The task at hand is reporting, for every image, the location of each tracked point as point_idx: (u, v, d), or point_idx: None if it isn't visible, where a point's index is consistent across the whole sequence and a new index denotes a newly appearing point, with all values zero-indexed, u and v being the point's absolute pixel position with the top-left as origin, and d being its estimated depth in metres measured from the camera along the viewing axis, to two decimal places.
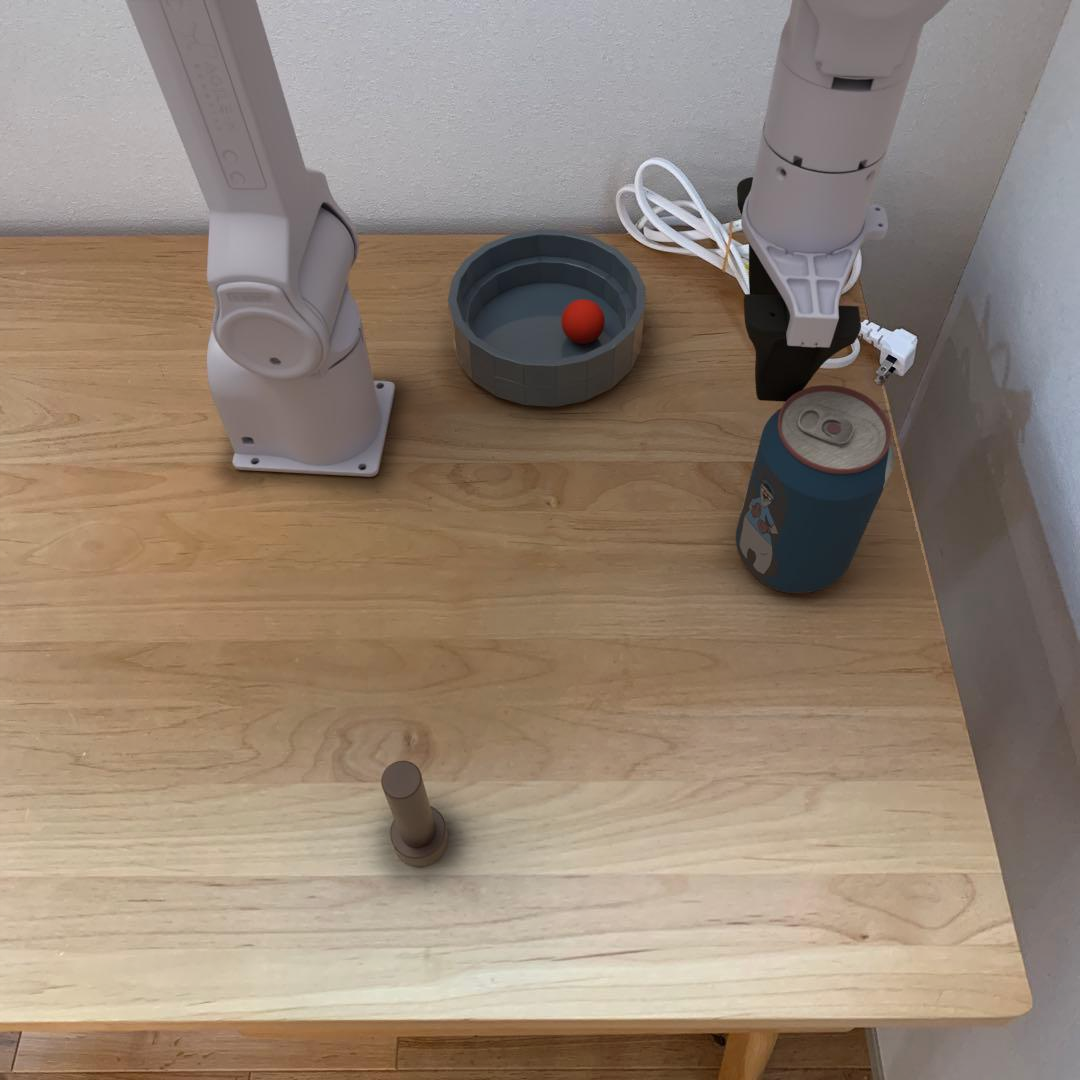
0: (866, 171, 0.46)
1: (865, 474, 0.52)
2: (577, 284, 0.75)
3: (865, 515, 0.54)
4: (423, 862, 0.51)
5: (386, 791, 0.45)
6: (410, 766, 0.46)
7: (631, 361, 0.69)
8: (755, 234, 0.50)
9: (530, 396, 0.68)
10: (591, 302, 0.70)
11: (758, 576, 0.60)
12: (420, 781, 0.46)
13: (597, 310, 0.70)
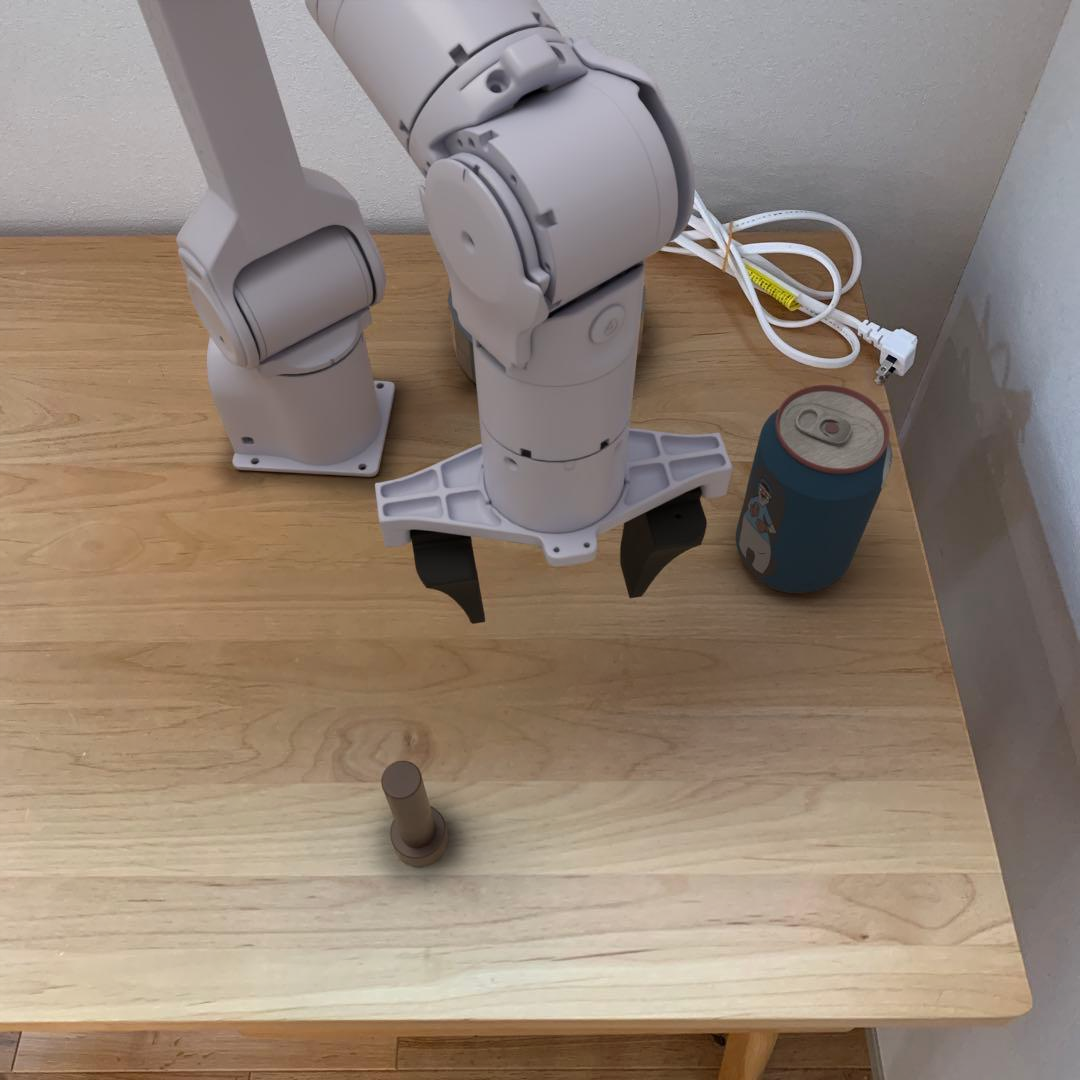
0: (501, 449, 0.37)
1: (862, 474, 0.52)
2: None
3: (863, 515, 0.54)
4: (423, 862, 0.51)
5: (386, 791, 0.45)
6: (410, 766, 0.46)
7: None
8: None
9: None
10: None
11: (757, 575, 0.60)
12: (420, 781, 0.46)
13: None
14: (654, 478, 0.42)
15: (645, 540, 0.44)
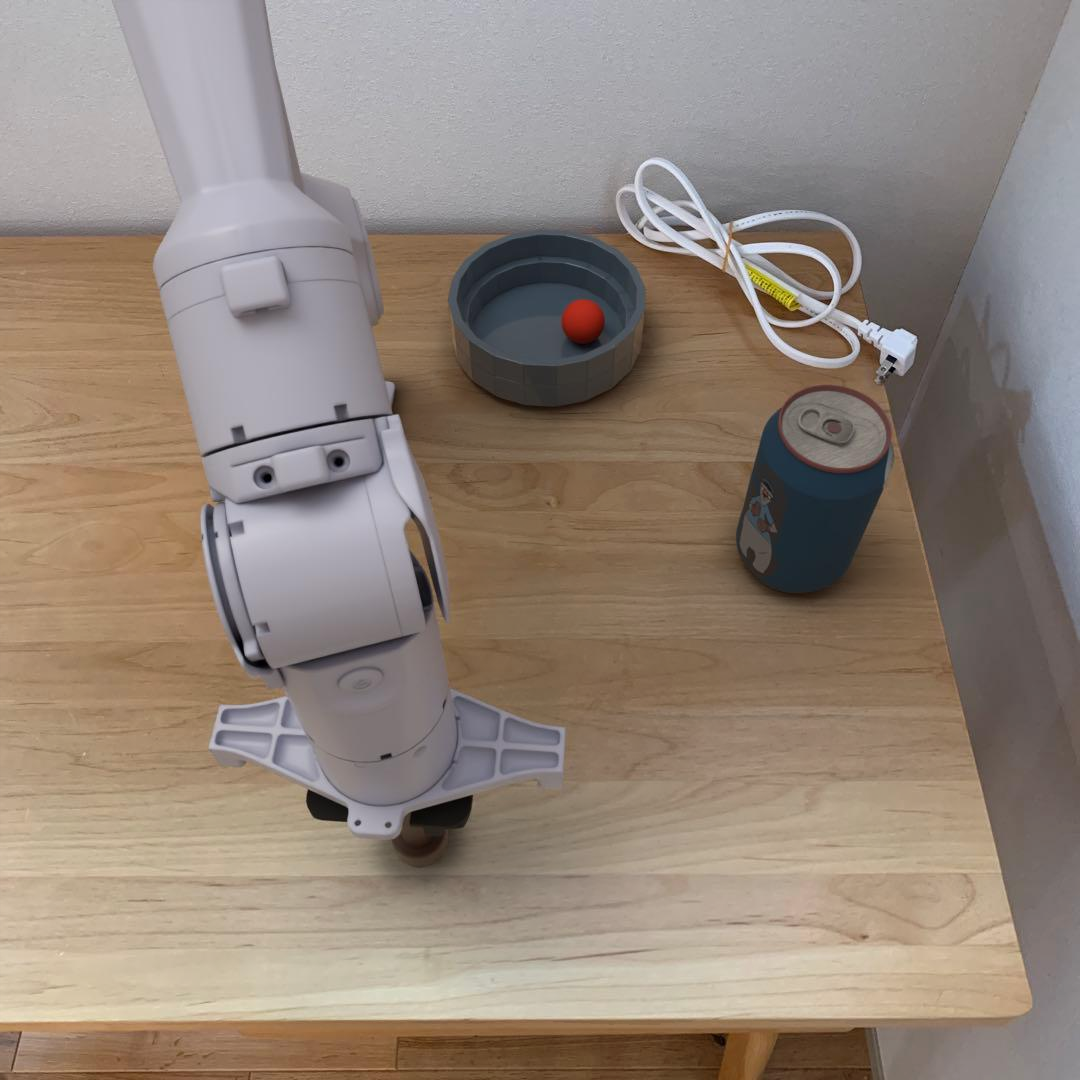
0: None
1: (864, 474, 0.52)
2: (577, 284, 0.75)
3: (864, 515, 0.54)
4: (423, 862, 0.51)
5: None
6: None
7: (631, 361, 0.69)
8: None
9: (530, 396, 0.68)
10: (591, 302, 0.70)
11: (757, 575, 0.60)
12: None
13: (597, 310, 0.70)
14: (485, 761, 0.42)
15: None
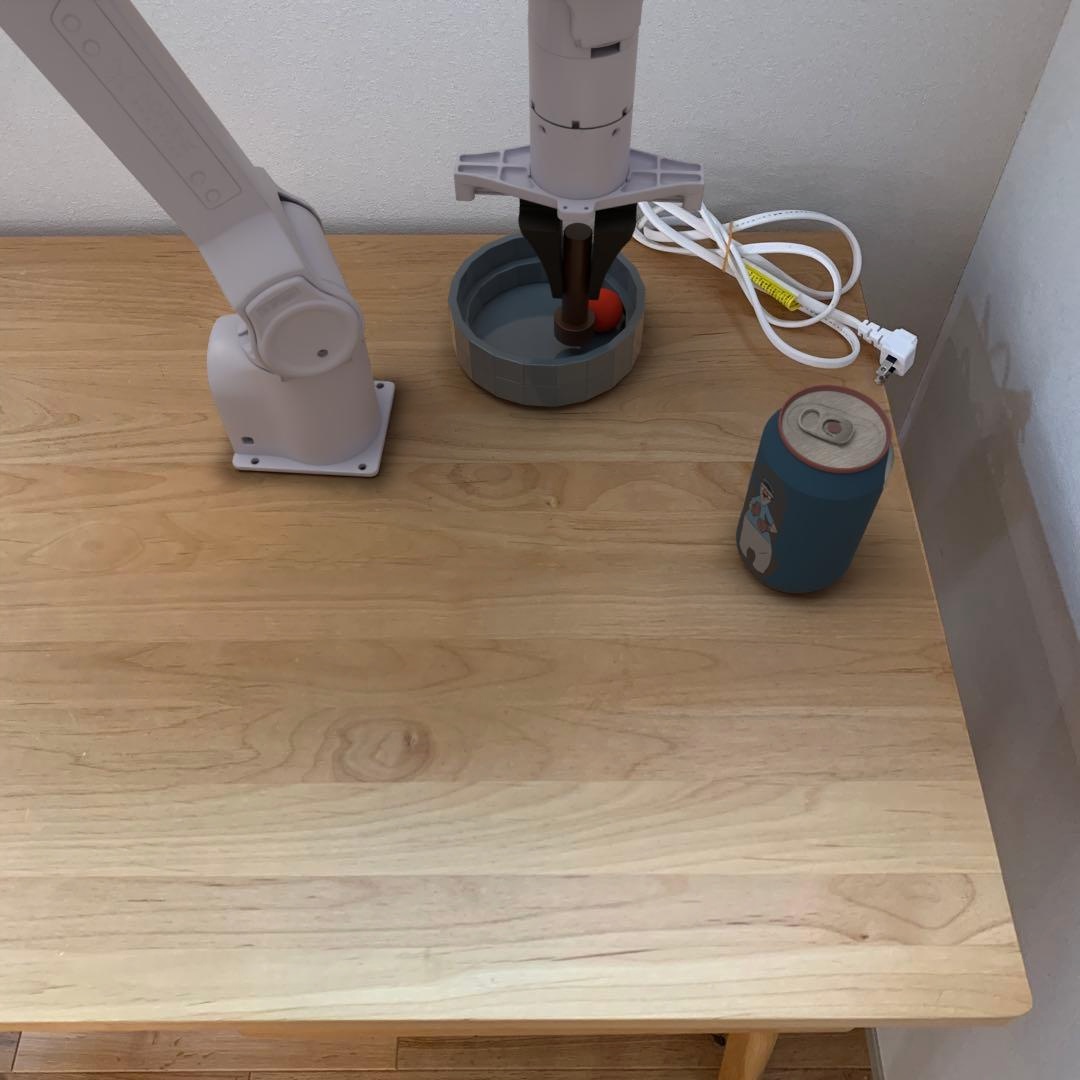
0: (537, 118, 0.55)
1: (864, 474, 0.52)
2: None
3: (864, 515, 0.54)
4: (578, 338, 0.69)
5: (568, 237, 0.63)
6: (584, 225, 0.64)
7: (631, 361, 0.69)
8: None
9: (530, 396, 0.68)
10: None
11: (757, 575, 0.60)
12: (592, 233, 0.63)
13: None
14: (648, 184, 0.59)
15: None
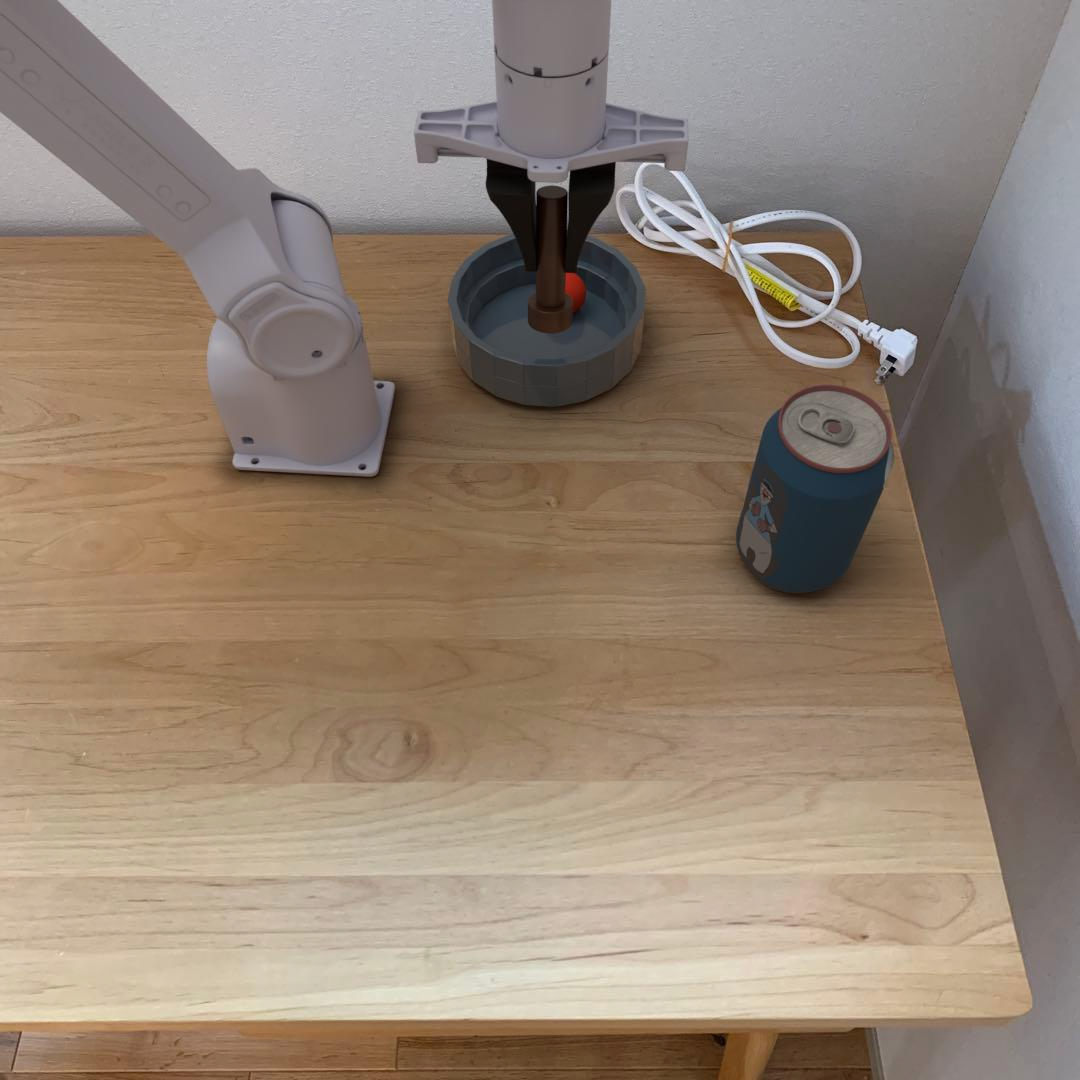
0: (503, 67, 0.50)
1: (864, 474, 0.52)
2: None
3: (864, 515, 0.54)
4: (541, 322, 0.63)
5: (537, 192, 0.58)
6: (563, 189, 0.59)
7: (631, 361, 0.69)
8: None
9: (530, 396, 0.68)
10: (572, 273, 0.72)
11: (757, 575, 0.60)
12: (563, 197, 0.58)
13: (566, 276, 0.71)
14: (627, 142, 0.54)
15: None
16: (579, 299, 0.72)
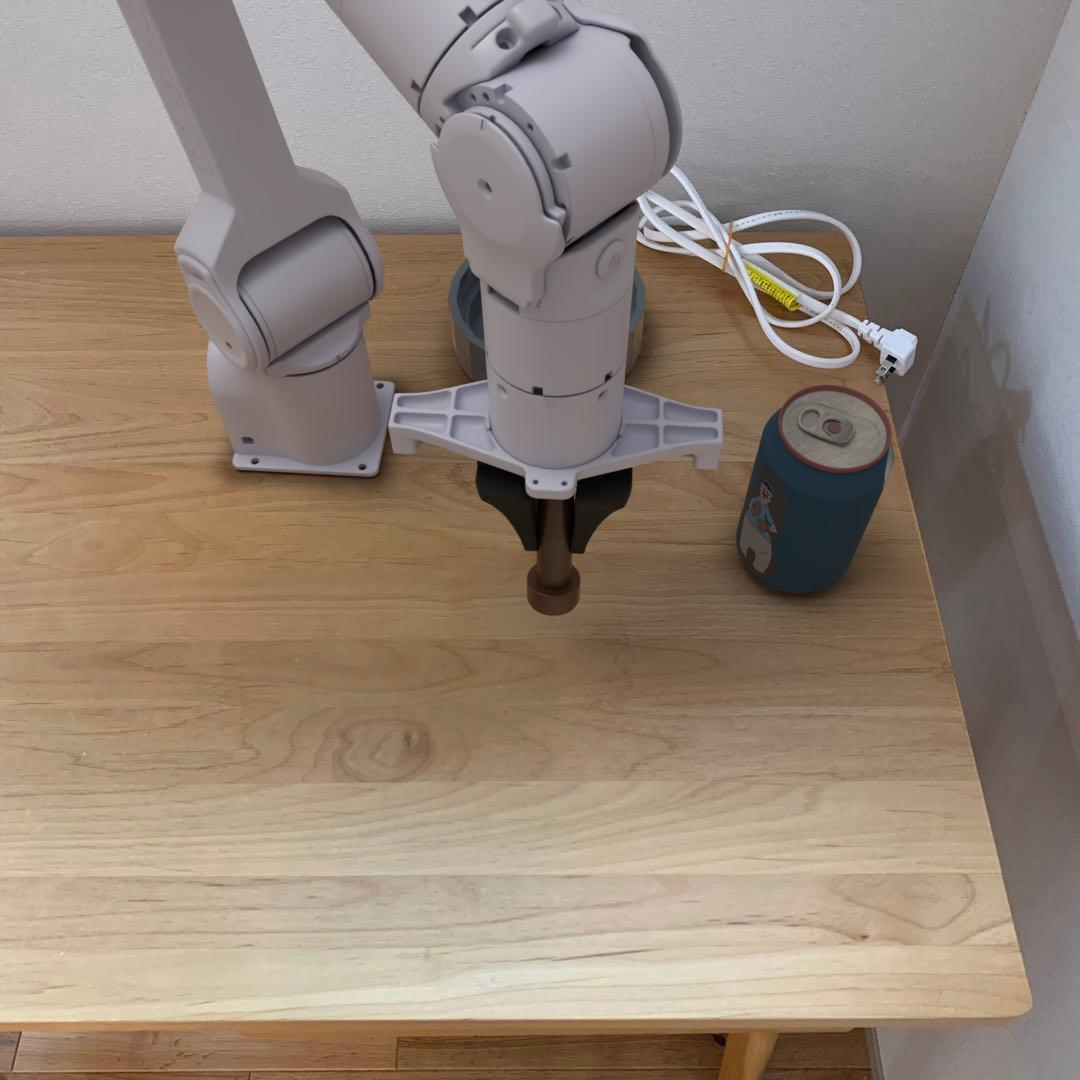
0: (495, 376, 0.40)
1: (864, 474, 0.52)
2: None
3: (864, 515, 0.54)
4: (542, 604, 0.53)
5: None
6: None
7: (631, 361, 0.69)
8: None
9: None
10: None
11: (757, 575, 0.60)
12: None
13: None
14: (648, 438, 0.45)
15: None
16: None
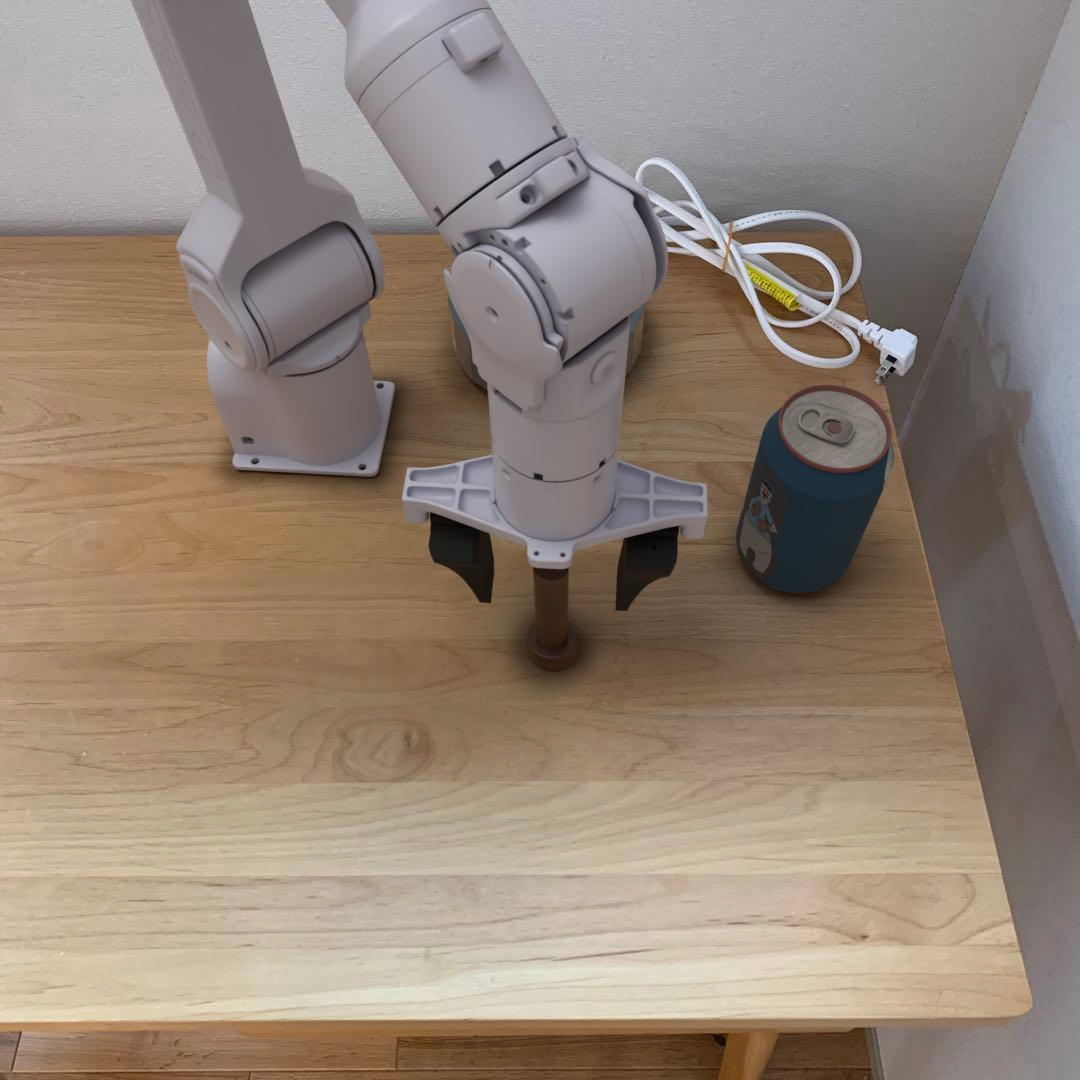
0: (500, 461, 0.45)
1: (864, 474, 0.52)
2: None
3: (864, 515, 0.54)
4: (542, 662, 0.57)
5: (534, 568, 0.52)
6: None
7: (631, 361, 0.69)
8: None
9: None
10: None
11: (757, 575, 0.60)
12: (563, 576, 0.52)
13: None
14: (639, 511, 0.49)
15: (625, 562, 0.51)
16: None
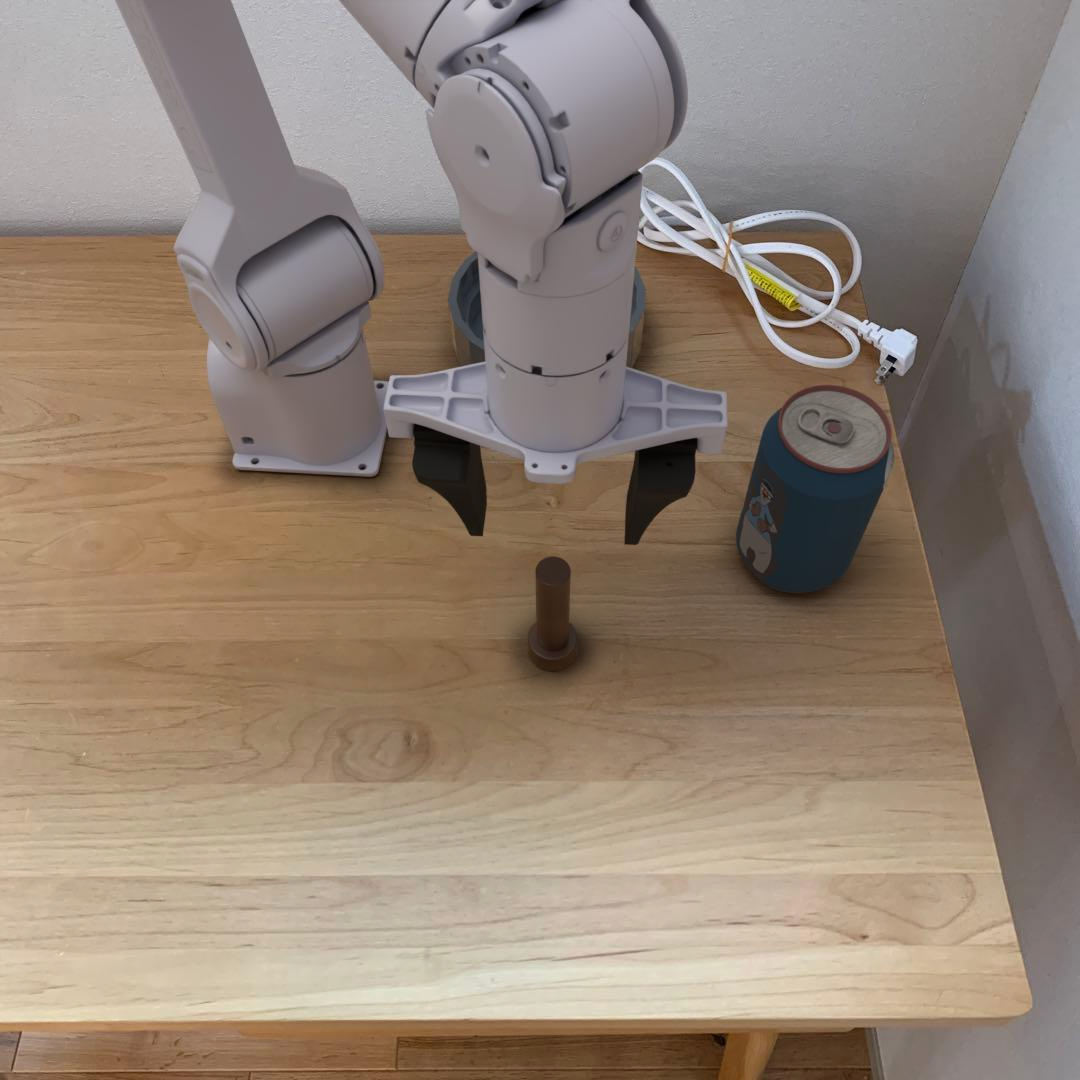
0: (493, 355, 0.39)
1: (864, 474, 0.52)
2: None
3: (864, 515, 0.54)
4: (542, 663, 0.58)
5: (536, 572, 0.52)
6: (565, 566, 0.52)
7: (631, 361, 0.69)
8: None
9: None
10: None
11: (757, 575, 0.60)
12: (565, 580, 0.52)
13: None
14: (650, 422, 0.43)
15: (636, 483, 0.45)
16: None
